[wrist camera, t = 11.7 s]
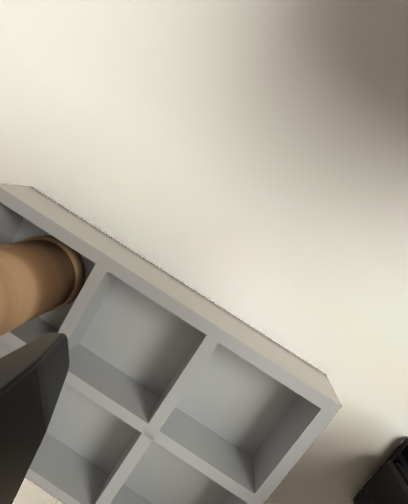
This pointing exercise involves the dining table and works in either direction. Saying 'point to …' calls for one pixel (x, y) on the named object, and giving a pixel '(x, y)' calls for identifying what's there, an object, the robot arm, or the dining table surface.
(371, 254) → the dining table surface
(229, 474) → the tray
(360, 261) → the dining table surface
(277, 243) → the dining table surface
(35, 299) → the skittle
